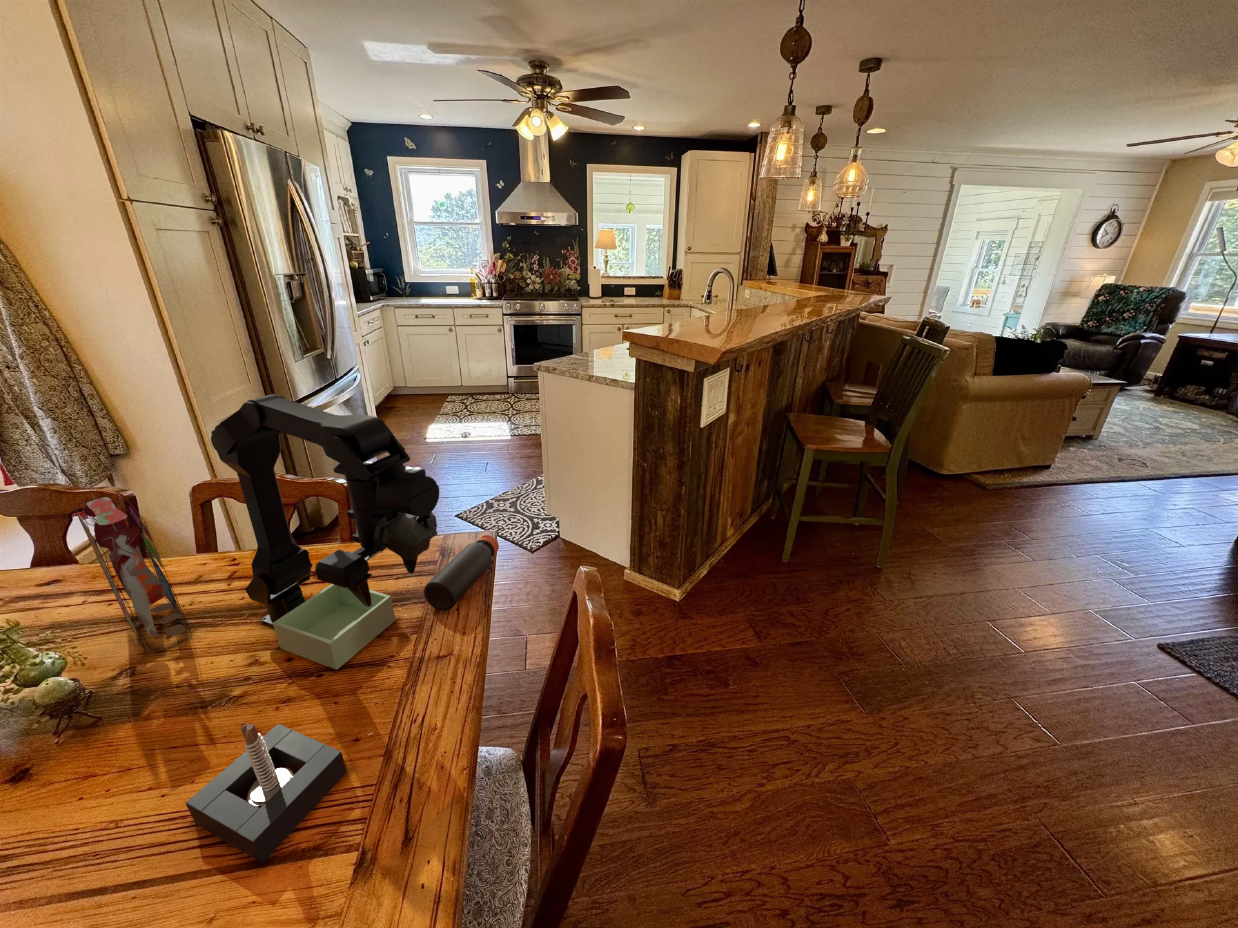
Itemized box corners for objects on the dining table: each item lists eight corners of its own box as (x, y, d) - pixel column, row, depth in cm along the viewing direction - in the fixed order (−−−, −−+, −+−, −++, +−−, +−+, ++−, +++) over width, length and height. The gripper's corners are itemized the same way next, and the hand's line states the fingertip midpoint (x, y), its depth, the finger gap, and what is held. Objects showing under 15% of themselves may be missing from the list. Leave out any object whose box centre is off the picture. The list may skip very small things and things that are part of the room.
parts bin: (280, 648, 86) (272, 623, 84) (343, 603, 98) (337, 579, 95) (336, 669, 82) (329, 643, 80) (395, 619, 93) (391, 595, 91)
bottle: (447, 582, 92) (498, 530, 110) (418, 582, 94) (472, 531, 112) (458, 611, 94) (506, 556, 112) (429, 612, 97) (481, 557, 114)
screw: (296, 804, 62) (250, 824, 60) (298, 771, 66) (254, 789, 64) (269, 731, 57) (217, 749, 55) (272, 700, 61) (224, 716, 58)
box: (115, 600, 97) (63, 489, 88) (155, 585, 102) (110, 478, 92) (148, 658, 84) (91, 534, 74) (193, 638, 88) (145, 519, 79)
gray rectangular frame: (195, 824, 60) (184, 802, 58) (285, 743, 70) (278, 722, 68) (262, 863, 56) (252, 841, 54) (347, 771, 66) (341, 751, 64)
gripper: (364, 544, 62) (385, 640, 68) (458, 486, 78) (468, 567, 84) (300, 527, 66) (325, 620, 72) (402, 474, 82) (416, 554, 88)
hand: (390, 588), depth 79 cm, fingers open, 9 cm apart
